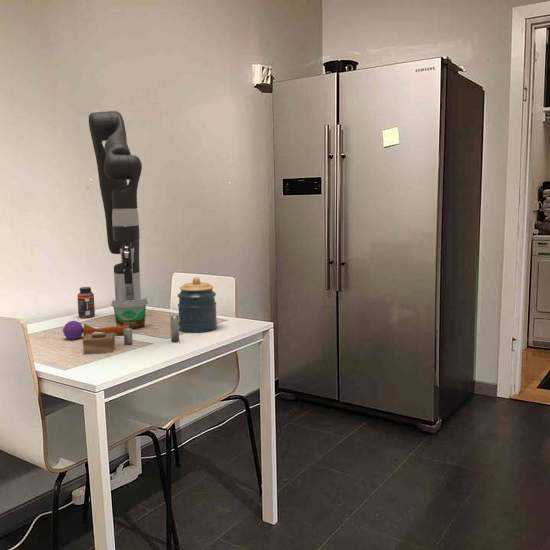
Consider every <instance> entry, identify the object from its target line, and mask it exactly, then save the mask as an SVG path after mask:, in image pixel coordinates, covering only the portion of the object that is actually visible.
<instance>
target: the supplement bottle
mask: <svg viewBox="0 0 550 550" xmlns="http://www.w3.org/2000/svg"><path fill="white" fill-rule="evenodd" d="M77 309H78V311H77V312H78V314H77V315H78V318H80V319H89V318H94V317H95V315H96V313H95V311H96V308H95V293H93V292H92V288H91V287H90V286H82V287H79V293H77Z"/></svg>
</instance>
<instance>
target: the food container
mask: <svg viewBox="0 0 550 550" xmlns="http://www.w3.org/2000/svg"><path fill="white" fill-rule="evenodd" d="M148 304H149V302H148V298H147V297H145V298H141V300H127V301H116V300H114V299H112V302H111V305H110V307H112V308H113V313H114V319H115V323H116V326H124V325H129V328H132V331H134V330H139V329H140V330H141V329H143V328H145V325H146V309H147V305H148Z"/></svg>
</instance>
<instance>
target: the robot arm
mask: <svg viewBox="0 0 550 550" xmlns="http://www.w3.org/2000/svg"><path fill="white" fill-rule="evenodd" d="M124 120H125V119H124V117H123V116H122V114H121V113H120V112H119V111H118V110H117V111H116V110H107V111H96V112H95V111H94V112H91V113H90V114H89V115H88V126H89V132H90V137H91V138H90V139H91V142H92V146H93V150H94V154H95V160H96V165H97V174H98V182H99V188H100V195H101V199H102V205H103V206H102V207H103V210H104V218H105V227H106V239H107V240H106V241H107V245H108V249H109V251H110V253H111V254H113V255H120V263H116V264H115V265H114V266H113V278H114V294H115V295H114V296H115V298H114V299H115V300H114V301H127V300H142V294H141V289H142V287H141V275H140V274H141V273H140V271H141V270H140V238H141V237H140V218H139V217H140V215H139V210H138V188H139V187H138V186H139V181H140V178H141V174H142V169H143V164H142V161H141V159H140V157H138V156H137V155H134V154H132V153H131V151H130V147H129V145H128V141H127V140H128V139H127V138H128V137H127V131H126V127H125V126H126V124H125V122H124ZM104 141H105V143H104V145H103V142H104ZM131 258H132V259H131ZM125 263H130V265H125ZM132 270H133V291H134V295H125V284H132Z"/></svg>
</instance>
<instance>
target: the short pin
mask: <svg viewBox="0 0 550 550" xmlns="http://www.w3.org/2000/svg"><path fill="white" fill-rule="evenodd" d="M133 342H134V341H133V330H132V328H124V335H123V343H124V346H126V345H129V346H133V345H132V344H133Z"/></svg>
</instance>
